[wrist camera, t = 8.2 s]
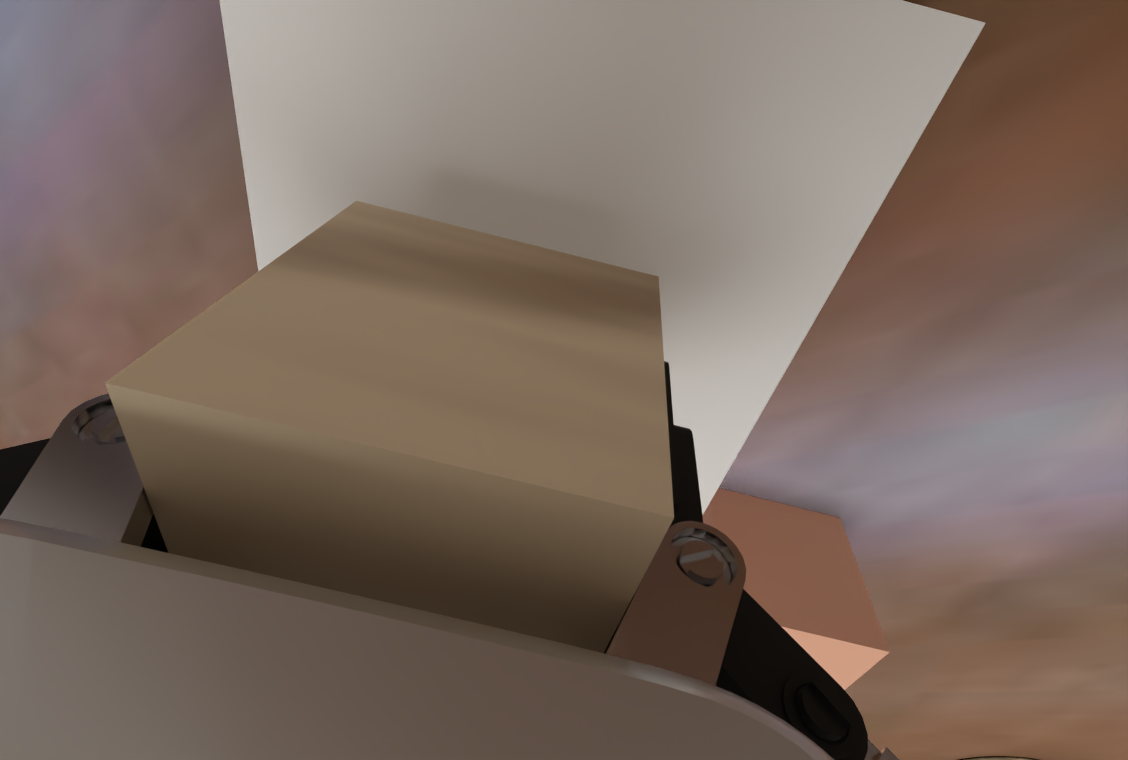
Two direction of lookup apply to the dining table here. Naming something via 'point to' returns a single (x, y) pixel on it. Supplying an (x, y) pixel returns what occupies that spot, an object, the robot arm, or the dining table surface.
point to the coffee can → (999, 758)
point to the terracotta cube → (804, 580)
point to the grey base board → (608, 148)
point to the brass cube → (418, 425)
